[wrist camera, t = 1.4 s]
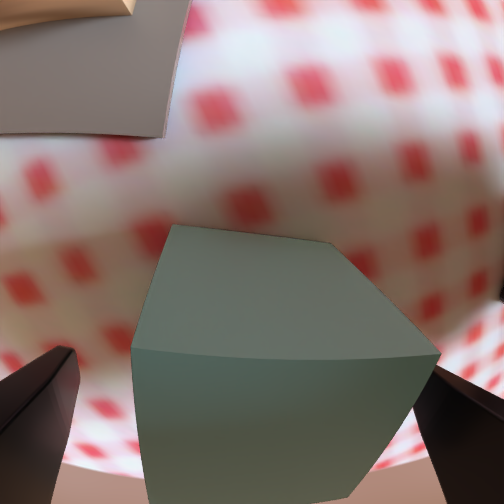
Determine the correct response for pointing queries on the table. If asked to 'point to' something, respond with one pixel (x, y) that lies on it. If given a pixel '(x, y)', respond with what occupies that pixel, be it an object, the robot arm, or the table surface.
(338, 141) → the table surface
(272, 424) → the teal block
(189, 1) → the baseplate
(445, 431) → the robot arm
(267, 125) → the table surface
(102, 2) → the maple base block
